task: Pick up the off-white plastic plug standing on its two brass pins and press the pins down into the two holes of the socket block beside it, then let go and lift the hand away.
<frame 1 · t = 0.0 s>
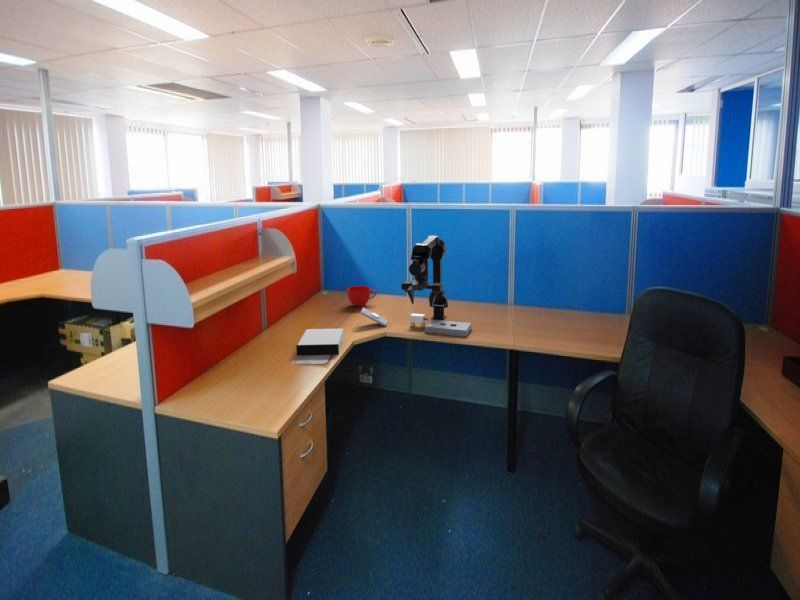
hand: (422, 304, 221), 15 cm above the table, tool pointing down, fingers open, 9 cm apart
light switch: (374, 324, 242), on the table
plug: (417, 326, 237), on the table
disc drive: (322, 347, 213), on the table
socket: (448, 330, 230), on the table
ceramic cup: (362, 305, 278), on the table
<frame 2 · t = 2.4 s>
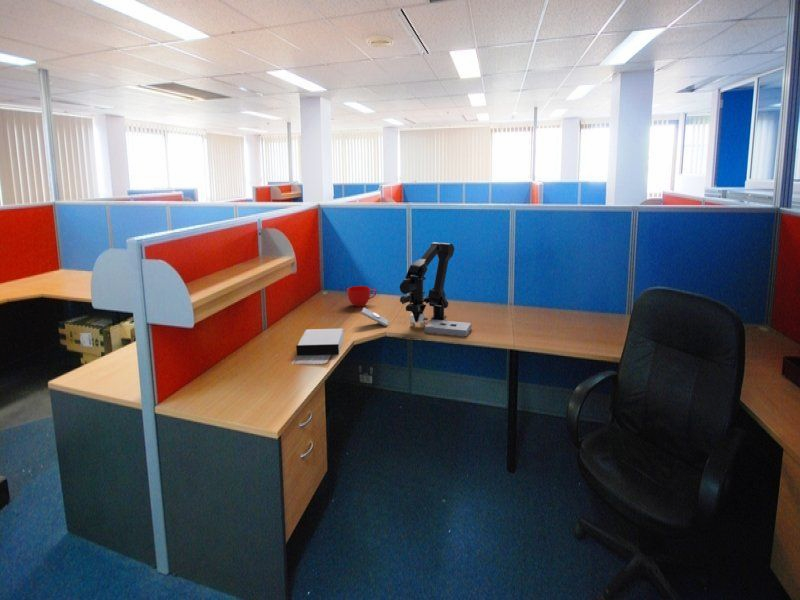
hand: (417, 320, 236), 3 cm above the table, tool pointing down, fingers closed on plug, 4 cm apart
plug: (417, 326, 237), on the table, touching gripper
everything else where it was.
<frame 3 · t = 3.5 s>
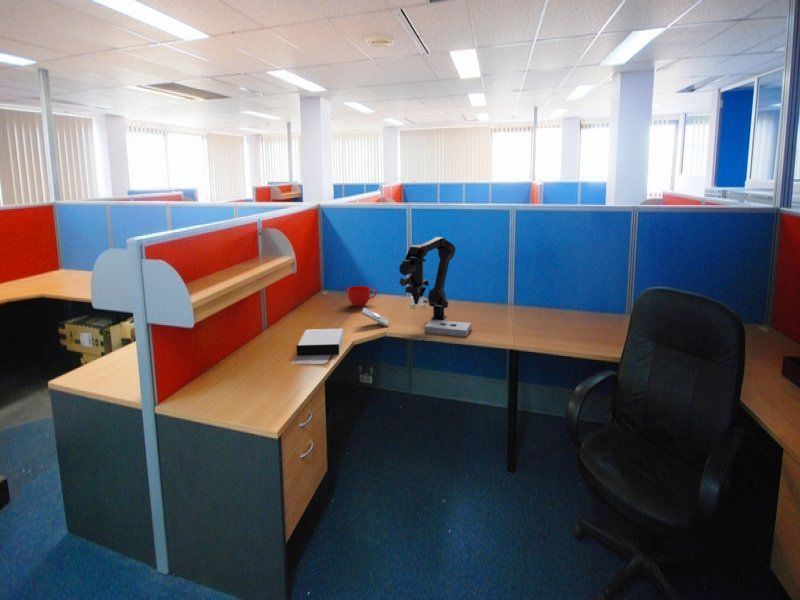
hand: (417, 303, 234), 12 cm above the table, tool pointing down, fingers closed on plug, 4 cm apart
plug: (417, 309, 235), point 9 cm above the table, touching gripper
everything else where it was.
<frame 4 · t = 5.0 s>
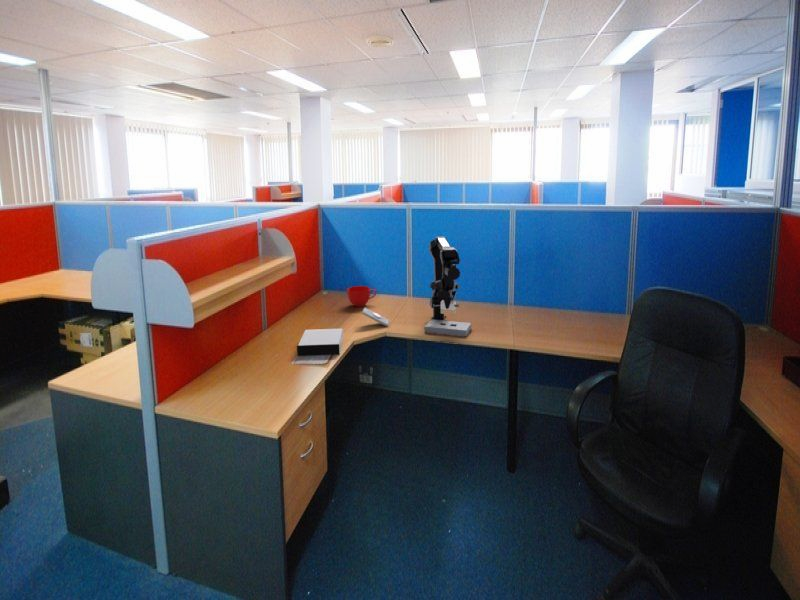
hand: (448, 307, 227), 12 cm above the table, tool pointing down, fingers closed on plug, 4 cm apart
plug: (448, 313, 228), point 9 cm above the table, touching gripper
everything else where it was.
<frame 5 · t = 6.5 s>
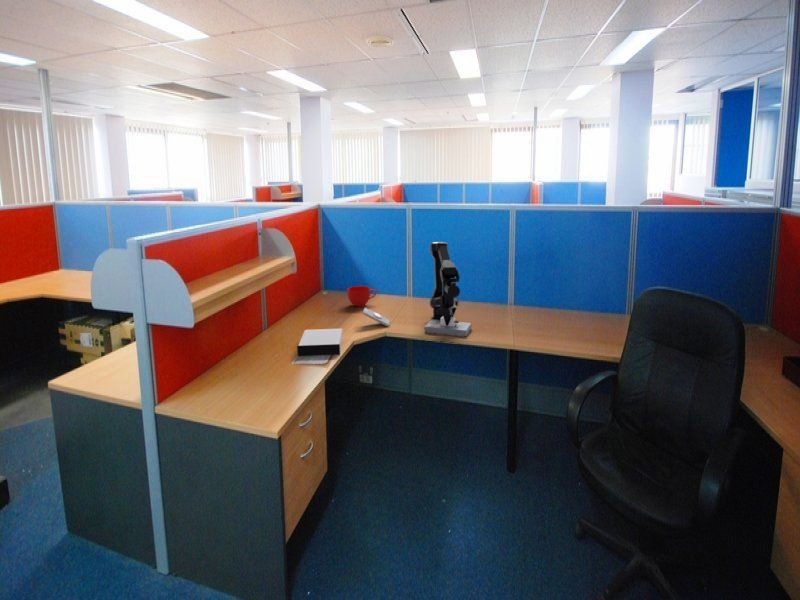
hand: (448, 324, 229), 3 cm above the table, tool pointing down, fingers closed on plug, 4 cm apart
plug: (448, 329, 230), resting in socket, touching gripper
when the fingers open (3 cm above the table, at t = 7.6 s): plug stays where it is, resting on socket.
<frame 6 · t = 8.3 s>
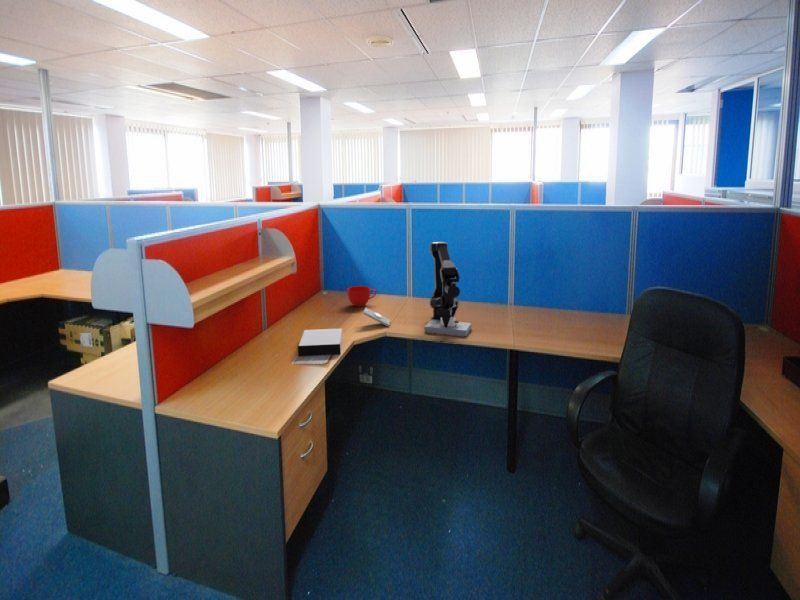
hand: (448, 324, 229), 3 cm above the table, tool pointing down, fingers open, 9 cm apart
plug: (448, 329, 230), resting on socket
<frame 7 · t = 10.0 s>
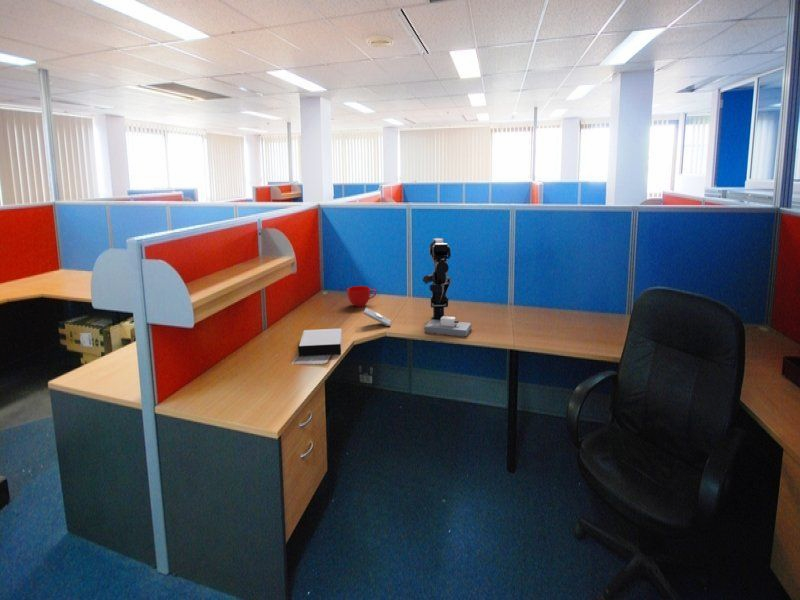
hand: (440, 300, 235), 13 cm above the table, tool pointing down, fingers open, 9 cm apart
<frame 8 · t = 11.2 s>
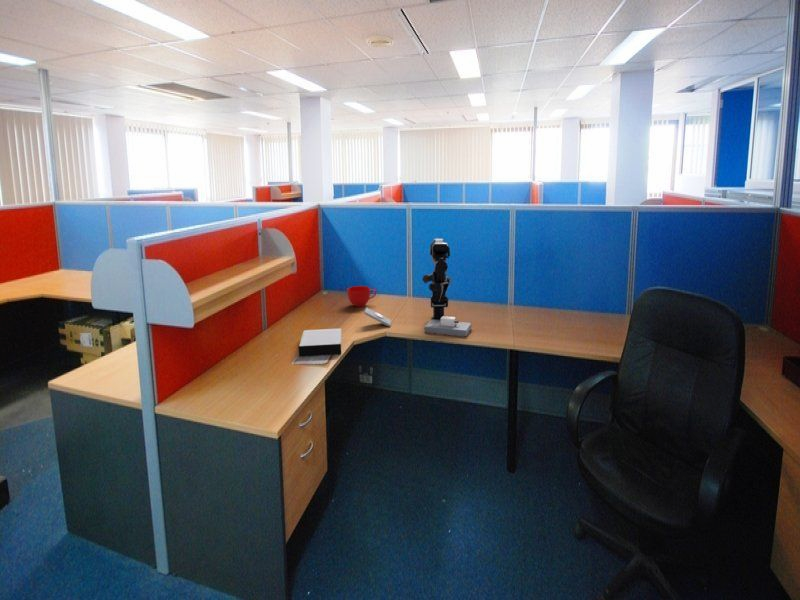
hand: (440, 300, 235), 13 cm above the table, tool pointing down, fingers open, 9 cm apart
at the end: plug 0.1 cm off-centre on the socket, point 0.5 cm above the socket's base; plug tilted 0°; the gripper is holding nothing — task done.
